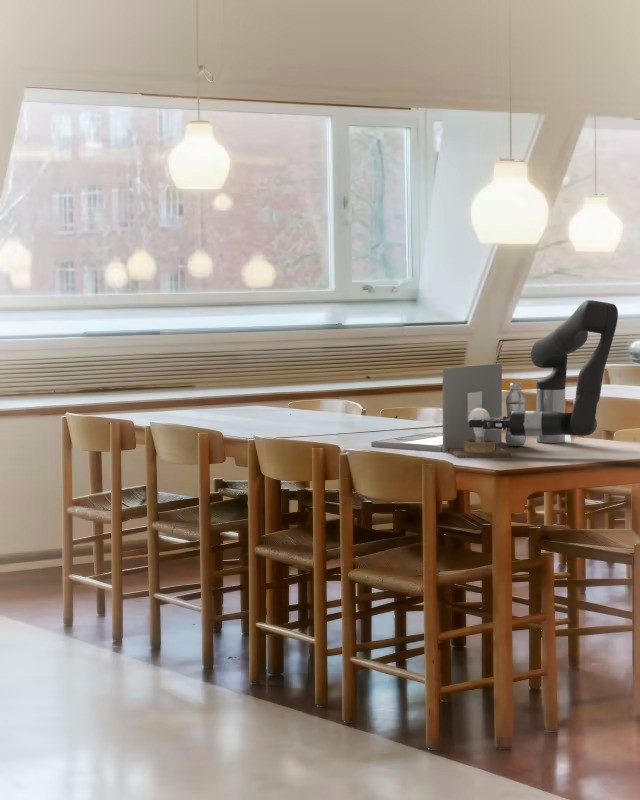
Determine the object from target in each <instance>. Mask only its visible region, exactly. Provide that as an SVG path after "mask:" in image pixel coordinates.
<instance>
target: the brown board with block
mask: <svg viewBox="0 0 640 800" xmlns="http://www.w3.org/2000/svg"><path fill="white" fill-rule="evenodd" d="M450 452H451V454H452V455H453V456H454V455H455V456H454V457H456V458H457V457H462V458H511V457H512V453H511V452H510V451H507V449H504V448H502V447H496V443H495V441H494V440H488V439H484V442H475V439H470V440H464V448H449V452H448V453H450Z"/></svg>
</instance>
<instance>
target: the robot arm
mask: <svg viewBox="0 0 640 800" xmlns="http://www.w3.org/2000/svg"><path fill="white" fill-rule="evenodd" d="M618 317H619V312H618V307H617V305H615V303H611V302H604V301H599V300H593V299H592V300H591V299H589V300H585V301H583V302H582V303H581V304H579V306H578V307H577V308H576V309H575V311H574V312H573V314H572V315H571V316H569V317H568V318H567V319H566V320H565V321H564V322H562V323H560V324H559V326H557V327H556V328H555V329H554V330H552V332H551V331H550V333H549V334H547V335H546V336H544V337H542V338H540V339H537V340H536V341H535V342H534V344H532V345H533V346H532V347H531V351H530V358H531V359H530V360H531V362H532V363H533V365H534V366H536V368H539V369H552V371H551V372H550V374H548V375H546V376H544V377H542V378H539V379H537V380H536V406H535V407H536V408H535V409H536V410H525V411H517V410H514V411H512V412H511V415H510V418H509V417H508V416H507V415H502V416H500V417H499V416H494V417H490V418H489V419H488V420H485V419H483V420H470V421H469V427H477V428H483V429H491V430H494V429H499V430H502V431H505V430H507V428H510V432H511V435H513V436H526V437H536V438H535V439H536V440H535V441H536V442H537V443H547V444H554V443H555V444H557V443H559V444H561V443H565V442H566V436H578V437H579V436H581V437H586V436H587V437H589V436H590V435H592V434H593V433H594V432H595V431H596V430H597V428H598V427H597V426H598V422H597V419H596V415H597V407H598V403H599V402H600V401H599V400H600V397H601V391H602V384H603V378H604V374H605V373H604V372H605V369H606V368H605V367H606V365H607V362H608V358H609V354H610V352H611V351H610V350H611V348H612V343H613V340H614V337H615V333H616V328H617V325H618ZM589 333H593V334H600V338H599V342H598V344H597V347H596V349H595V350H594V351H593V353H592V354H591V355H590V356H589V358H588V359H587V361H586V362H585V363H584V364H583V366H582V367H581V369H580V371H579V373H578V376H577V382H576V383H577V384H576V389H575V390H576V391H575V400H574V404H573V408H572V412H566V383H567V369H568V354H571V353H574V352H576V351H577V350H579V349H580V348H581V347H583V346H584V345H585V343H586V342H587V340H588V337H589ZM487 422H489V424H488V426H487Z"/></svg>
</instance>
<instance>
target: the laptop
mask: <svg viewBox="0 0 640 800" xmlns="http://www.w3.org/2000/svg"><path fill="white" fill-rule="evenodd" d="M502 372H503V363H502V362H499V363H489V364H488V363H486V364H478V365H477V364H475V365H463V366H453V367H452V366H449V367H442V432H427V433H420V434H414V435H413V434H412V435H408V436H401V437H394V438H388V439H387V438H386V439H381V440H373V441H371V442H370V443H371V445H370V447H372V448H384V449H397V450H409V451H410V450H411V451H423V452H424V451H425V452H435V453H436V452H437V453H447V451H449V448H464V440H470V439H475V433H474V430H473V427H469V414H470V412H471V411H472V410H473V409H475V408H483V409H485V410H487V412H488V413H489V415H490V417H494V416H499V417H500V416H503V414H502V410H503V409H502V408H503V407H502V406H503V405H502V402H503V398H502V396H503V393H502V392H503V390H502V389H503V387H502V385H503V382H502V381H503V373H502ZM502 431H503V430H499V429H494V430H491V429H486V430H485V433H484V439H488V440H494V441H495V444H499V443H498V442H500V443H502V441H503V440H502V438H503V437H502V434H503V433H502Z"/></svg>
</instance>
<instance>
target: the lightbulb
mask: <svg viewBox="0 0 640 800" xmlns="http://www.w3.org/2000/svg"><path fill="white" fill-rule="evenodd" d="M489 418H490V415H489V413H488V412H487V410H485V409H483V408H475V409H473V410H472V411H471V412H470V414H469V421H470V420H483V419H485V420H488V419H489ZM488 424H489V422H487V426H488ZM473 430H474V433H475V442H484V433H485V430H486V429H483V428H477V427H473Z"/></svg>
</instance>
